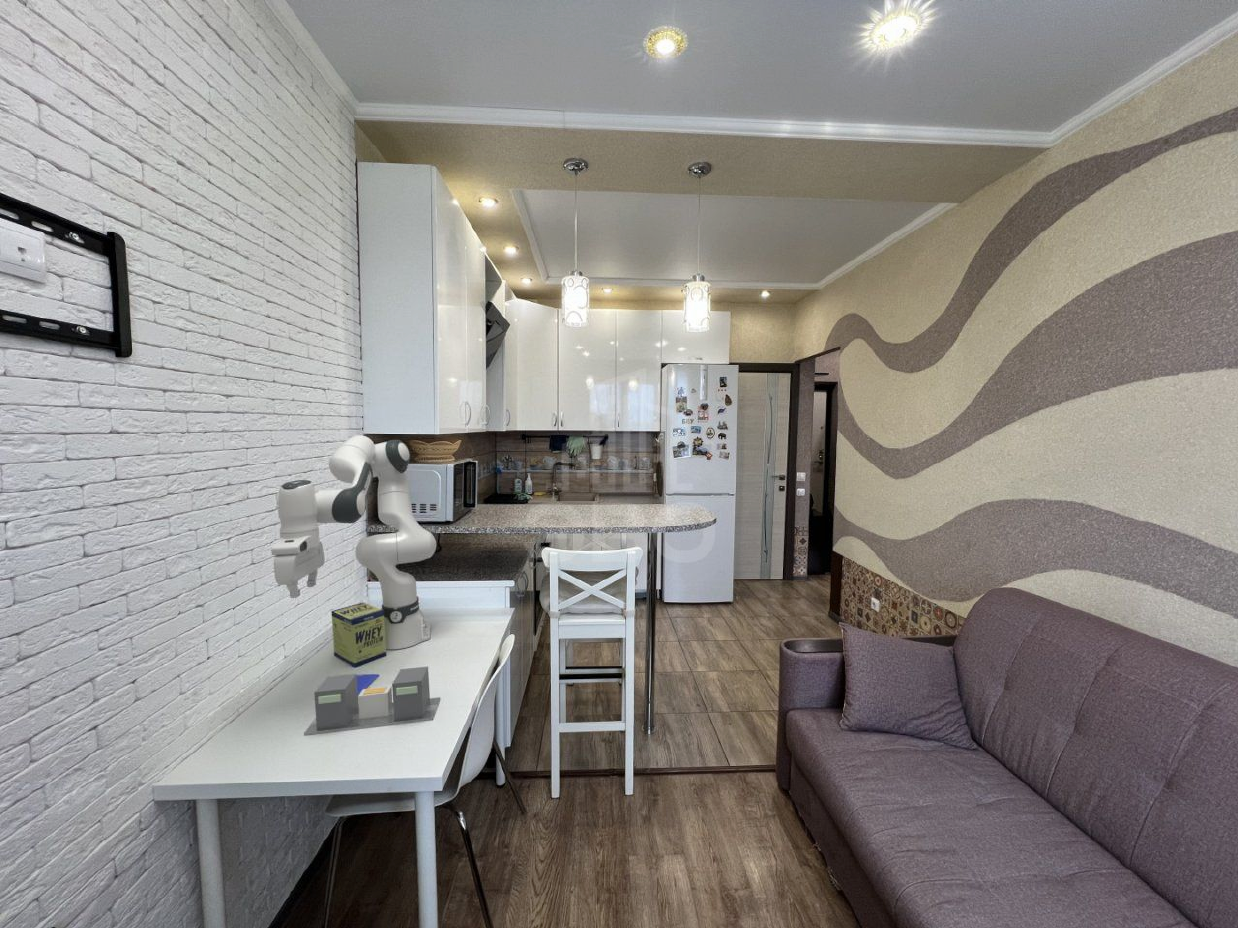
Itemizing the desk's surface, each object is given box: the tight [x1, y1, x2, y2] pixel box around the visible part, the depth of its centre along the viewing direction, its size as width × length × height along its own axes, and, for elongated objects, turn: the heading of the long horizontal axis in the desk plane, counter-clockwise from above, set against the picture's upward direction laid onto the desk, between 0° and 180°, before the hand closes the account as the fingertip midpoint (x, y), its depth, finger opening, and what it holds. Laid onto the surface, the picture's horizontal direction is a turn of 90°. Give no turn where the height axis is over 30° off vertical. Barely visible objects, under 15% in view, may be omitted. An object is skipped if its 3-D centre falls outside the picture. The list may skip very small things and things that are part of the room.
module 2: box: [391, 666, 431, 720], centre depth 128 cm, size 8×7×10 cm
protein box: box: [330, 602, 387, 668], centre depth 163 cm, size 10×16×16 cm
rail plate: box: [303, 696, 441, 736], centre depth 127 cm, size 10×30×1 cm, turn 100°
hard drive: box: [357, 673, 380, 696], centre depth 142 cm, size 2×8×12 cm
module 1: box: [313, 673, 359, 729], centre depth 125 cm, size 8×7×10 cm
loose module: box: [358, 685, 393, 719], centre depth 127 cm, size 4×7×6 cm, turn 100°
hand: (303, 591), depth 133 cm, fingers open, 8 cm apart
